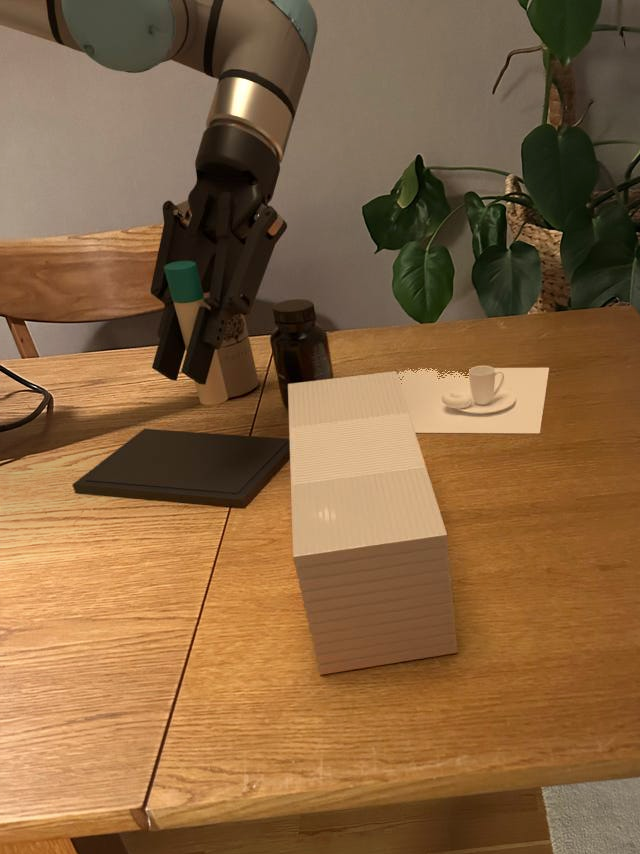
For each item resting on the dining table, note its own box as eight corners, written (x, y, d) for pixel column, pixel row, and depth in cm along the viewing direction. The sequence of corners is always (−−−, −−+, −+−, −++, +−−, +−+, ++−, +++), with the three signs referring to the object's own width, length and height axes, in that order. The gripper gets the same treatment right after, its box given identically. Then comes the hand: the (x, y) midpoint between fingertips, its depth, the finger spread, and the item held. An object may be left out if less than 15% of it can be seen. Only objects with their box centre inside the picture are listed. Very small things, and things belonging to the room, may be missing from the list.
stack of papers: (457, 653, 65) (447, 534, 58) (319, 675, 64) (292, 556, 57) (407, 469, 90) (396, 370, 83) (307, 482, 88) (287, 383, 82)
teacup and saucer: (439, 416, 100) (436, 383, 97) (449, 390, 106) (446, 358, 103) (512, 417, 99) (511, 383, 96) (518, 390, 105) (517, 358, 102)
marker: (194, 404, 85) (157, 268, 76) (208, 393, 87) (174, 260, 79) (219, 406, 84) (185, 269, 76) (233, 394, 86) (201, 260, 78)
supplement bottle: (272, 409, 104) (250, 311, 96) (303, 389, 109) (285, 293, 101) (317, 417, 101) (299, 316, 94) (348, 396, 106) (333, 298, 99)
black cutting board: (75, 492, 89) (71, 483, 89) (146, 436, 100) (144, 427, 99) (244, 508, 85) (241, 498, 84) (300, 447, 95) (299, 438, 95)
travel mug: (187, 389, 111) (146, 243, 100) (241, 372, 115) (208, 229, 103) (215, 405, 106) (175, 254, 95) (270, 387, 110) (238, 239, 98)
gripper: (331, 175, 82) (268, 402, 81) (202, 171, 88) (141, 383, 86) (291, 120, 75) (222, 367, 74) (153, 119, 81) (86, 350, 79)
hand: (178, 375), depth 80 cm, fingers closed on marker, 3 cm apart
